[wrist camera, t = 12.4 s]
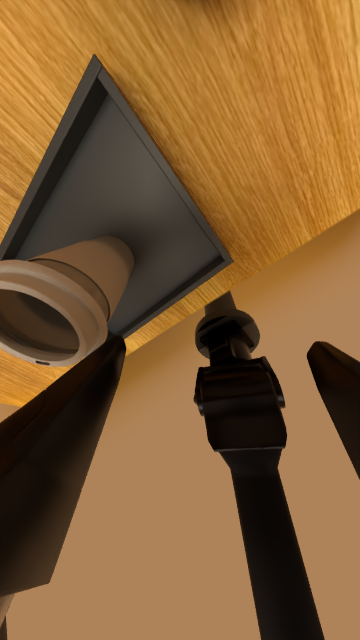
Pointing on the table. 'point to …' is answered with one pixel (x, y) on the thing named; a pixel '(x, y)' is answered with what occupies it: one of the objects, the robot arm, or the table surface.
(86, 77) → the tray
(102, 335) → the cup
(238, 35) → the table surface
